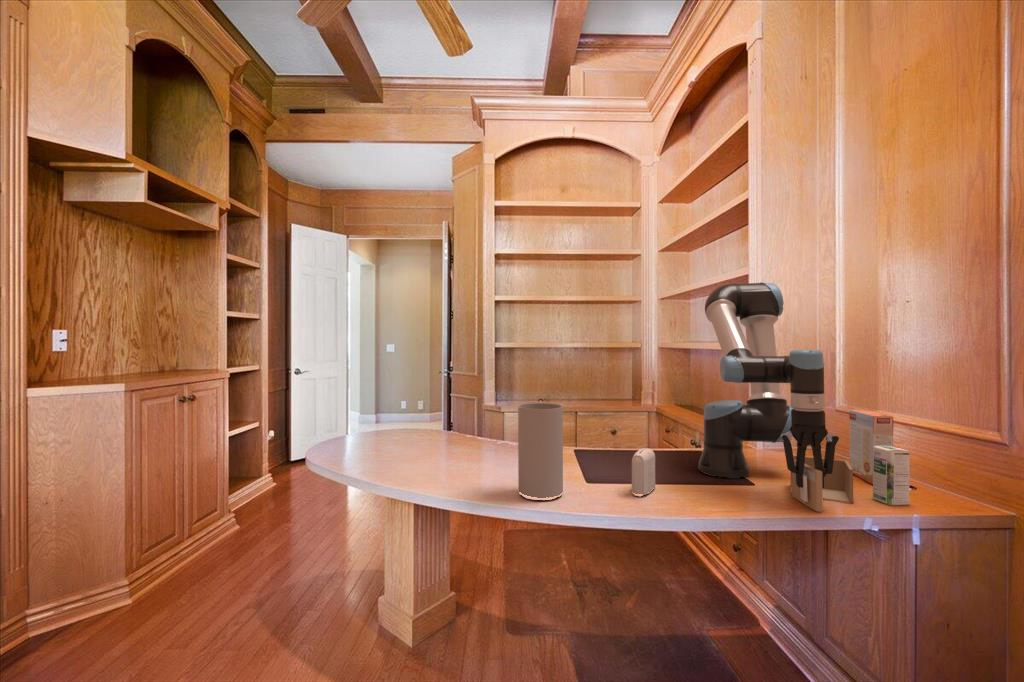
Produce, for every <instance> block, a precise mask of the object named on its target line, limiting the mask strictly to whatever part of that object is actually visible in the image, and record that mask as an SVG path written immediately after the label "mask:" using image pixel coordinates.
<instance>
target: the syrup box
mask: <svg viewBox="0 0 1024 682" xmlns="http://www.w3.org/2000/svg"><path fill="white" fill-rule="evenodd" d="M910 456H911V453H910V450H907V449H903V448H899V447H894V446H893V447H892V446H874V447H873V485H872V499H873V500H876V501H878V502H881V503H882V504H886V505H888V506H909V505H910V480H911V479H910V466H911V465H910V460H911V459H910Z"/></svg>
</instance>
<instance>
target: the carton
mask: <svg viewBox="0 0 1024 682" xmlns="http://www.w3.org/2000/svg"><path fill="white" fill-rule="evenodd" d="M796 456H797V455H794V454H793V457H794V460H796ZM824 458H825V457H822V461H823V467H824ZM805 464H807V465H809V466H811V467H813V468H815V464H814V458H813V456H805ZM790 490H791V491H792V472H791V471H790ZM822 499H824V500H825V501H830V500H831V501H832V502H839V503H847V504H854V475H853V469H852V467H851V465H850V461H848V460H844V459H835V458H834V463H833V472H832V474H826V476H825V477H824V488H822ZM824 500H823V501H824ZM831 501H830V502H831Z"/></svg>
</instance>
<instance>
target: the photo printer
mask: <svg viewBox="0 0 1024 682" xmlns="http://www.w3.org/2000/svg"><path fill="white" fill-rule="evenodd" d="M653 488H655V489H656V454H655V452H654V451H653V450H652V449H651V448H646V447H644V448H640V449H639V450H637V451H636V452H635V453H634V455H633V456H632V459H631V493H632V492H633V493H635V494H643V495H645V494H647V493H648V492H650V491H651V490H652V489H653ZM650 493H651V492H650Z"/></svg>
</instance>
